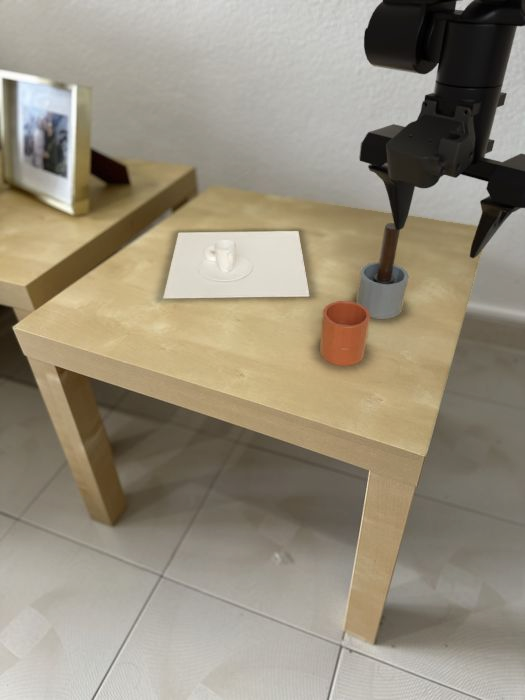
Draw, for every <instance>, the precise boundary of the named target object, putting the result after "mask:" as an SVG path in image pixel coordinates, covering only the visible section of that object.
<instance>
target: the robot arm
mask: <svg viewBox="0 0 525 700" xmlns="http://www.w3.org/2000/svg"><path fill="white" fill-rule="evenodd" d="M461 1H462V0H382V1H381V2H379V4H378V5H377V6H376V7H375V9H374V11H373V12H372V13H371V16H370V18H369V21H368V24H367V27H366V28H365V30H364V36H363V48H364V55H365V57H366V60H367V61H368V62H369V64H370V65H371V66H373V67H376V68H381V69H382V68H383V69H387V70H393V71H394V70H395V71H401V72H407V73H412V74H418V75H427V74H429V73H431V72H432V71H433V70H434V69H435V68H436V67H437V70H436V76H435V80H434V81H435V82H434V87H433V92H431V93H428V94H425V95H424V100H423V101H422V103H421V106H420V107H421V108H420V112H419V114H418V116H417V119H416V120H414V121H411V122H408V124H407V125H405V126H403V125H399V124H394V123H393V124H390V125H386V126H384V127H380V128H377V129H374V130H371V131H368V132H367V133H366V134H365V135H364V136H363V138H362V140H361V142H360V144H359V145H360V147H359V155H358V159H359V162H362V163H366V164H368V165H367V168H368V170H369V171H370V172H372V173H374V174H376V176H377V177H378V178H380V180H381V181H382V182H383V184H384V187H385V191H386V194H387V196H388V197H387V198H388V201H389V202H388V203H389V207H390V210H391V216H392V220H393V223H394V225H395V229H396V230H400V231H401V230H402V229H404V228H405V225H406V222H407V219H408V217H409V213H410V209H411V205H412V201H413V197H414V193H415V188H419V189H430V188H432V187H434V186H435V185H436V184H437V183H438V182H439V180H440V179H441V178H442V177H443V176H446V177H450V178H456V179H457V178H458V177H460V175H461V176H465V177H469V178H473V179H476V180H479V181H484V182H487V185H486V188H485V189H486V191H487V193H488V196H486V197H485V198H483V199H480V200H479V201H480V202H479V204H480V207H481V215H480V218H479V221H478V223H477V228H476V229H475V230H476V231H475V234H474V236H473V240H472V243H471V246H470V252H469V258H470V259H475V258H477V257H478V256H479V255H480V254H481V253H482V251H483V249H485V247H486V246H487V244H488V243H489V242H490V240H491V239H492V238H493V237H494V235H495V234H496V233H497V231H498V230H499V229H500V227H501V226H502V225H503V224H504V222H506V220H507V219H508V218H509V217H510V216H511V215H512V213H515V212H517V211H519V210H521V209H525V153H519V154H516V155H515V156H513V157H511V158H508V159H505V160H504V161H500V160H496V159H492V158H487V157H486V155H487V154H488V153H491V152H493V148H494V145H495V141H496V140H495V139H491V138H490V136H491V132H492V130H493V125H494V120H495V117H496V113H497V108H501V107H503V106H505V102H506V98H507V92H502V89H503V84H504V81H505V76H506V72H507V68H508V64H509V60H510V56H511V53H512V48H513V44H514V40H515V36H516V32H517V29H518V27H525V0H472V1H471V2H470V3H469V4H468V5H466V7H465V9H463V10H462V9H456V6H457V2H461Z"/></svg>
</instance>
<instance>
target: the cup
mask: <svg viewBox="0 0 525 700" xmlns="http://www.w3.org/2000/svg"><path fill="white" fill-rule="evenodd" d="M378 267H379V261H374V262H369V263H367V264H365V265H363V266H362V267H361V269H360V270H359V277H358V283H357V284H358V285H357V291H356V297H355V298H356V299H355V300H356V301H355V303H358V304H360V305H362V306H364V307H365V308H366V309H367V310H368V311H369V313H370V318H371V319H377V320H389V319H393V318H395V317H397V316H399V315H400V314H401V313H402V310H403V307H404V303H405V297H406V292H407V288H408V283H409V278H410V276H409V272H408V271H407V270H406V269H405V268H404V267H403V266H401V265H398V264H396V263H394V266H393V271H392V275H393V276H394V284H381V283H377V282H374V281H373V278H374V275H375V274H376V273H378Z"/></svg>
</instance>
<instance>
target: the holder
mask: <svg viewBox="0 0 525 700" xmlns="http://www.w3.org/2000/svg"><path fill="white" fill-rule="evenodd" d="M370 322H371V317H370V313H369V311H368V310H367V309H366V308H365V307H364V306H362V305H360V304H358V303H356V301H355V302H354V301H350V300H338V301H332V302H331V303H328V304H327V305H326V306H325V307H324V308H323V310H322V317H321V327H320V328H321V329H320V330H321V331H320V344H319V354H320V355H321V357H322V359H323V360H325V361H326V362H328V363H330V364H332V365H335V366H341V367H345V366H347V367H348V366H353V365H357V364H358V363H359V362H361V361H362V360H363V358H364V356H365V351H366V345H367V344H366V343H367V339H368V334H369V329H370V328H369V327H370Z"/></svg>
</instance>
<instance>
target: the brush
mask: <svg viewBox="0 0 525 700" xmlns="http://www.w3.org/2000/svg"><path fill="white" fill-rule="evenodd" d="M383 229H384V230H383V236H382V241H381V242H382V243H381V248H380V254H379V260H378V262H379V267H378V273H376V274H375V275H374V278H373V281H374V282H377V283H381V284H394V276H393V275H392V271H393V266H394V264H395V260H396V253H397V249H398V242H399V238H400V233H401V232H400V231H401V229H400V230H396V229H395V225H394V222H389V223H386V224H385V225H384V228H383Z"/></svg>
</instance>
